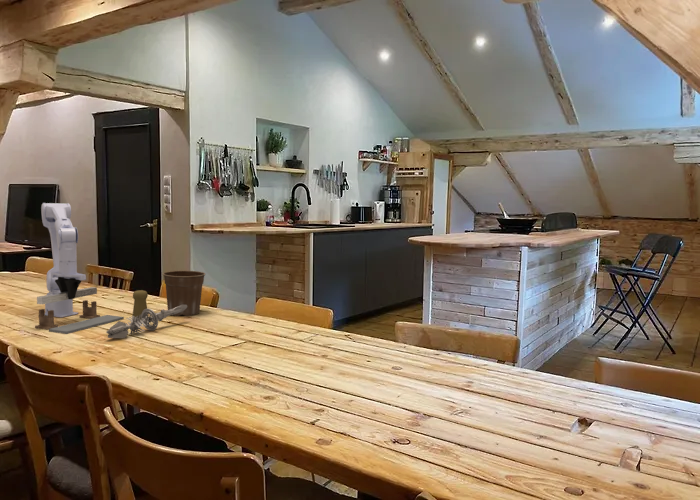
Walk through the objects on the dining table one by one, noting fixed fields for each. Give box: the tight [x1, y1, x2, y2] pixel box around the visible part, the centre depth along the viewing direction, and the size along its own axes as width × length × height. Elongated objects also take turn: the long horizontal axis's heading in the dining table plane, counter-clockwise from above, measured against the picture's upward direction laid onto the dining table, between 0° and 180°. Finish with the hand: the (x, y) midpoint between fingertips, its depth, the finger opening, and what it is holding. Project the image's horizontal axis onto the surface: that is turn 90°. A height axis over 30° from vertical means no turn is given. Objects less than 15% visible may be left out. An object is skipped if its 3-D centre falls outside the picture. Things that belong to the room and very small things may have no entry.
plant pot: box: [162, 270, 206, 317], centre depth 223 cm, size 16×16×16 cm
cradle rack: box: [34, 300, 101, 331], centre depth 203 cm, size 6×23×6 cm, turn 159°
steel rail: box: [36, 286, 98, 305], centre depth 202 cm, size 2×24×2 cm, turn 159°
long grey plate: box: [48, 314, 125, 335], centre depth 200 cm, size 8×26×1 cm, turn 159°
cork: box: [131, 289, 149, 320], centre depth 210 cm, size 6×6×11 cm
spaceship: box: [105, 305, 187, 339], centre depth 194 cm, size 8×35×8 cm
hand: (68, 298), depth 202 cm, fingers closed on steel rail, 2 cm apart
